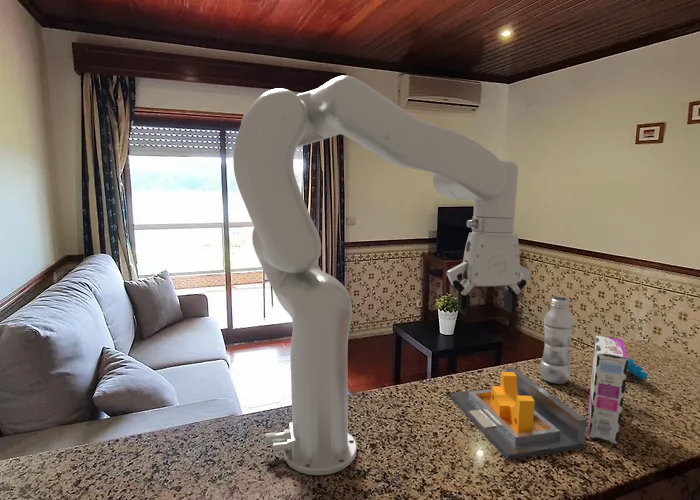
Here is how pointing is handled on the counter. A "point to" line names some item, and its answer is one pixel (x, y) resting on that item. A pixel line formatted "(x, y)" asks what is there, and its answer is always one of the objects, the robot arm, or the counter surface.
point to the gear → (636, 370)
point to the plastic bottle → (557, 342)
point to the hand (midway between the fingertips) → (486, 312)
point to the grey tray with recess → (548, 424)
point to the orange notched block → (513, 403)
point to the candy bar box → (607, 389)
